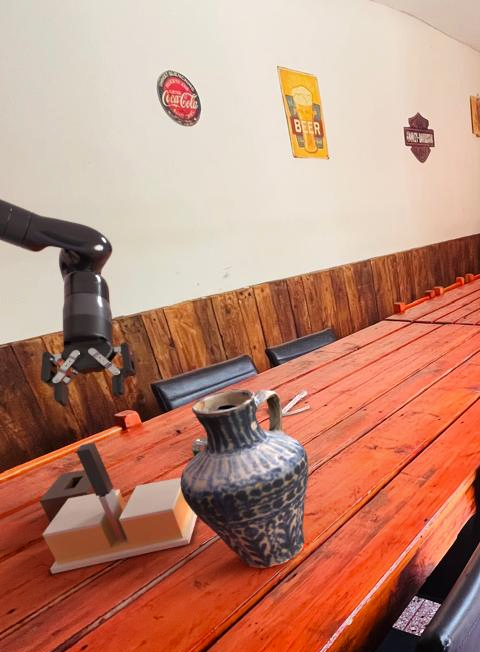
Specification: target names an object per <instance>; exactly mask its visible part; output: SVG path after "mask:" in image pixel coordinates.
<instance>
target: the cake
mask: <svg viewBox="0 0 480 652" xmlns="http://www.w3.org/2000/svg"><path fill="white" fill-rule="evenodd" d="M180 482H181V477H176V478H171V479H166V480H160V481H155V482H150V483H144V484H139V485H136V486H135V488H134V490H133V491H132V494H131V495H130V497H129V498H128V501H127V503H126V502H125V499H124V497H123V495H122V493H121V490H120V489H119V488H117V489H114V492H115V495H116V497H117V499H118V502H119V504H120V506H121V508H122V511H123V512H122V514H121V516H120V518H119V521H120V523H121V525H122V527H123V530H124V532H125V534H126V536H127V539H126V541H125V542H123V543H119V542H118V540H117V537H116V535H115V533H114V531H113V529H112V526H111V524H110V522H109V520H108V518H107V515H106V513H105V511H104V509H103V507H102V504H101V502H100V500H99V496H96V494H90V495H84V496H79V497H74V498H69V499H68V500H67V501H66V502H65V504H64V505H63V507H62V508H61V509H60V511H59V512H58V514H57V515H56V516H55V518H54V519H53V520H52V522H51V523H50V522H49V525H48V526H47V527H46V529H45V530H44V531H43V533H42V534H41V535H42V537H43V539H44V541H45V542H46V544H47V546H48V548H49V550H50V552H51V554H52V556H53V558H54V560H55V561H54V562H53V564H51V565H52V566H51V567H50V568H49V571H50V572H51V574H57V573H62V572H67V571H71V570H75V569H80V568H84V567H90V566H94V565H99V564H102V563H107V562H113V561H116V560H121V559H125V558H130V557H135V556H140V555H144V554H148V553H153V552H158V551H162V550H166V549H167V550H168V549H171V548H175V547H176V548H177V547H181V546H185V545H189V544H190V542H191V538H192V535H193V531H194V529H195V525H196V522H197V518H198V516H197V515H196V514H195V513H194V512H193V511H192V509H191V508H190V507H189V505H188V504H187V502H186V501H185V499H184V497H183V494H182V491H181V485H180Z"/></svg>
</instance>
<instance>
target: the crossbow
mask: <svg viewBox="0 0 480 652" xmlns="http://www.w3.org/2000/svg"><path fill="white" fill-rule="evenodd" d="M307 395H308V392H307V390H305V389H304V390H302V391H301V392H300V393H299V394H297V395H296V396H293V397H290V398H289V400H291V399H292V400H291V401H290V402H289V403H287V405H286V406H285V407H284V408H282V417H287V416H290V415H293V414H297V413H299V412H303V411H305V410H308V409H310V405H309V404H307V405H306V406H303V407H301V408H298V409H295V410H291V409H292V408H293V407H294V405H296V403H297V402H299V401H303V398H304V397H305V396H307ZM287 400H288V398H287V399H283V400H282V402H283V401H287ZM289 410H291V411H289Z"/></svg>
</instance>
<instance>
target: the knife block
mask: <svg viewBox="0 0 480 652" xmlns="http://www.w3.org/2000/svg"><path fill="white" fill-rule="evenodd" d="M113 490H115V489H114V487H113ZM90 494H95V492H94V490H93V488H92V485H91V483H90V481H89V479H88V477H87V474H86V472H85V470H84V469H81V470H76V471H70V472H69V471H68V472H65V473H60V474H59V476H58V477H57V478H56V479H55V481H54V482H53V483H52V484H51V486H50V487H49V488H48V489H47V490H46V492H45V493H44V494H43V495H42V497H41V498H40V499H39V504H40V505H41V507H42V509H43V511H44V513H45V515H46V517H47V519H48V521H49V524H50V523H51V522H52V520H53V519H54V518H55V516H56V515H57V514H58V512H59V511H60V509H61V508H62V507H63V505H64V504H65V502H66V501H67V500H68V499H69V498H74V497H79V496H84V495H90Z"/></svg>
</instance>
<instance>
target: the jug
mask: <svg viewBox="0 0 480 652" xmlns="http://www.w3.org/2000/svg"><path fill="white" fill-rule="evenodd" d="M265 401H266V404H267V408H268V421H269V429H268V430H266V429H263V428H262V427H261V425H260V422H259V421H258V419H257V415H256V414H257V410H258V408H259V407H260V405H261V404H262V403H263V402H265ZM282 409H283V407H282V400H281V398H280V396H279V394H278V393H277V392H276V391H275V390H270V389H263V388H262V389H260V390H259V391H257V392H256V393H255V392H254V391H251V390H249V389H237V388H235V389H231V390H229V391H219V392H217V393H214V394H211V395H207V396H205V397H202V398H199V399H197V401H195V404H193V405H192V407H191V411H192V413H193V414H194V415H195V417H196V419H197V421H198V422H199V423H200V425H201V426H202V427H203V428H204V432H206V433H205V434H206V437H207V440H208V443H207V447H206V448H205V449H204V450H202V451H201V452H199V453H198V454H197V455H196V456H195V457H194V456H193V457H192V458H191V459H190V460H189V461H188V463H187V464H186V466H185V467H184V469H183V471H182V472H181V477H180V478H181V482H180V485H181V491H182V494H183V497H184V499H185V501H186V502H187V504H188V505H189V507H190V508H191V509H192V511H193V512H194V513H195V514H196V515H197V518H198V519H199V520H200V521H201V522H203V523H204V524H205V525H206V526H207V527H209V528H210V530H211V531H213V532H214V533H215V534H216V535H217V536H218V537H219V538H220V539H221V540H222V541H223V542H224V544H225V545H226V546H227V547H228V548H229V549H230V550H231V551H232V552H233V553H234V554H236V556H238V558H239V559H241V561H242V562H243V563H244V564H246V565H247V566H249V567H253V568H257V569H265V568H266V569H267V568H271V567H274V566H280V565H282V564H284V563H287V562H288V561H290V560H291V559H293V558H294V557H296V556H297V555H298V554H299V553H300V552H301V551H302V550H303V547H304V545H305V542H306V541H305V540H306V539H305V534H304V517H305V506H306V505H305V504H306V497H307V491H308V485H309V459H308V454H307V452H306V449H305V448H304V446H303V445H302V443H301V442H300V441H298V440H297V439H296V438H294V437H293V436H291V435H288V434H286V432H284V429H283V416H282Z"/></svg>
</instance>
